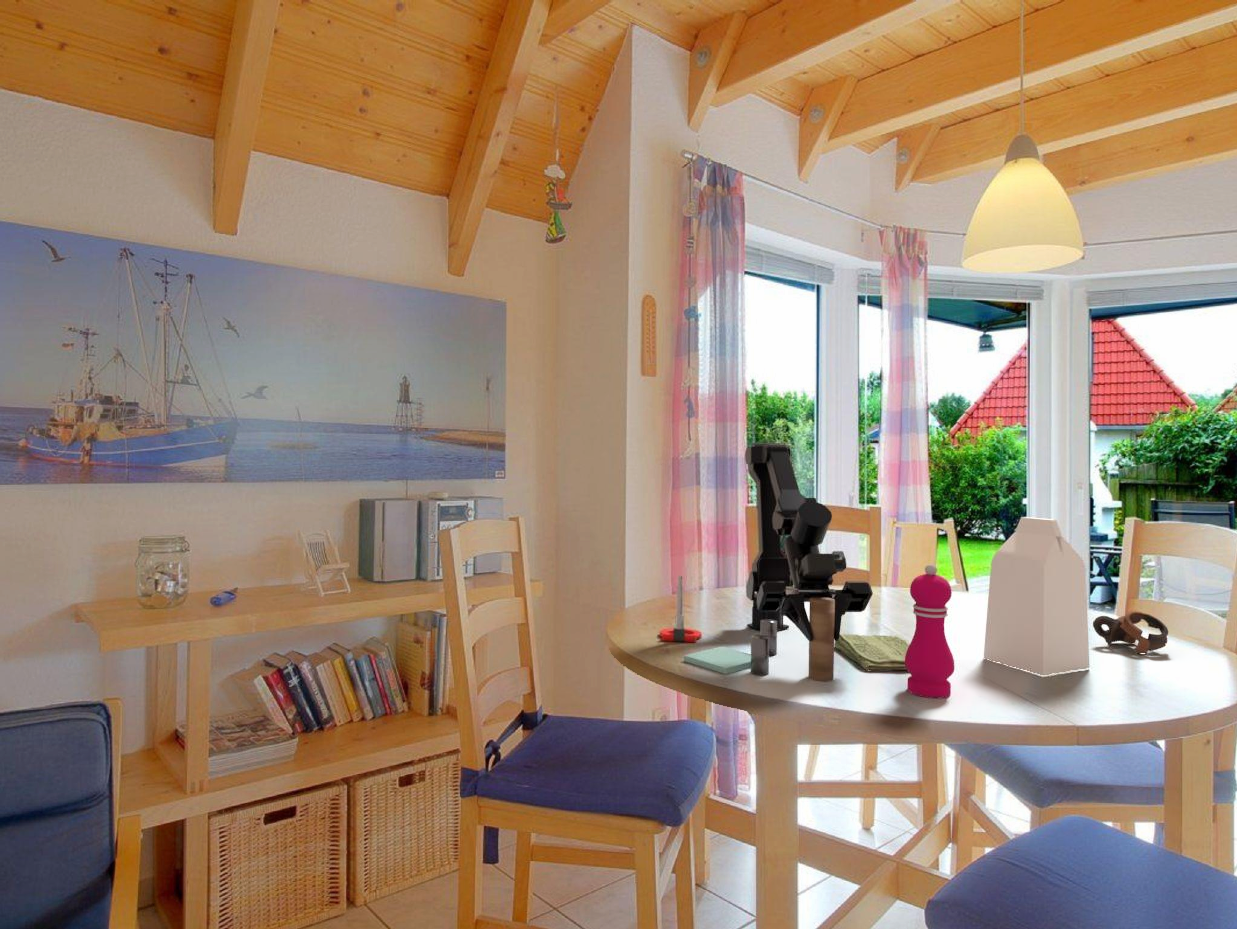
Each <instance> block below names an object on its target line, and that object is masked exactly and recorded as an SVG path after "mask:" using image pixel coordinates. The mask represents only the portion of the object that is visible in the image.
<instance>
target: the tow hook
mask: <svg viewBox="0 0 1237 929" xmlns="http://www.w3.org/2000/svg"><path fill="white" fill-rule="evenodd" d="M677 580H678V581H677V583H678V584H677V585H678V586H676V587H677V588H676V614H675V618H674V619H675V621H674V623H675V625H674V627H673V628H663V629H662V630H660V631H659V636H660V637H661V640H662V642H674V643H697V640H698V639H701V638H702V634H703V633H702V632H701V630H697V629H693V628H685V627H684V626H685V625H684V624H685V621H684V620H685V616H684V615H683V613H684V612H683V611H684V586H683V575H678V579H677ZM686 633H687V634H686Z"/></svg>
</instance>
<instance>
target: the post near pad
mask: <svg viewBox="0 0 1237 929" xmlns="http://www.w3.org/2000/svg"><path fill="white" fill-rule="evenodd" d="M750 654H751V668H750V674H751V675H755V676H767V675H769V672H770V670H769V668H770V666H769V665H770V656H769V637H767V636H762V635H760V634H759V635H758V634H757V635H755V634H754V635H752V636H750Z"/></svg>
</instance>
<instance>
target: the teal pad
mask: <svg viewBox="0 0 1237 929" xmlns="http://www.w3.org/2000/svg"><path fill="white" fill-rule="evenodd" d="M683 661H684V662H686V663H688V664H693V665H696V666H697V667H702V668H705V669H709V670H712V671H715V672H719V673H722V674H725V675H728V674H732V673H735V672H739V670H740V671H744V670H747V669H751V653H747V652H744V651H739V650H736V649H734V648H729V647H725V646H719V647H714V648H710V649H706V650H701V651H697V652H692V653H689V654H685V655H683Z"/></svg>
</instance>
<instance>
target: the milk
mask: <svg viewBox="0 0 1237 929" xmlns="http://www.w3.org/2000/svg"><path fill="white" fill-rule="evenodd" d="M1019 519H1020V520H1019V521H1018V524H1017V526H1016V527H1015V532H1013V533H1012V534H1011V535H1010V537H1008V539H1007V540H1006V541H1004V543H1003V544H1002V545H1001V546H1000V547H999V548H998V549H997V551H996V552H995V553H994V554H993V556H992V559H991V562H990V574H989V585H988V586H989V588H988V599H987V610H986V611H987V612H986V620H985V621H986V624H985V635H984V648H983V659H984V658H985V659H989V660H991V661H995V662H1000V663H1001V664H1006V665H1008V666H1012V667H1016V668H1019V669H1023V670H1027V671H1030V672H1033V673H1037V674H1040V675H1049V674H1052V673H1059V672H1066V671H1070V670H1078V669H1086V668H1089V667H1090V648H1089V625H1088V623H1089V621H1088V619H1089V618H1088V599H1087V598H1088V597H1087V593H1088V592H1087V577H1086V576H1087V575H1086V574H1087V573H1086V572H1087V571H1086V565H1085V562H1084V560H1083V558H1082V556H1080V554H1079V553H1078V552H1077V551H1076V549H1074V548H1073V547H1072V545H1071V544H1070V543H1069V542H1068V541H1067V540H1066V539H1065V538H1064V537H1063V535H1062V532H1061V530H1060V527H1059V524H1058V521H1057V519H1052V518H1051V519H1050V518H1042V517H1041V518H1040V517H1030V516H1021V517H1020V518H1019ZM985 659H984V660H985ZM991 661H990V662H991ZM1001 664H1000V665H1001ZM1008 666H1007V667H1008Z"/></svg>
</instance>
